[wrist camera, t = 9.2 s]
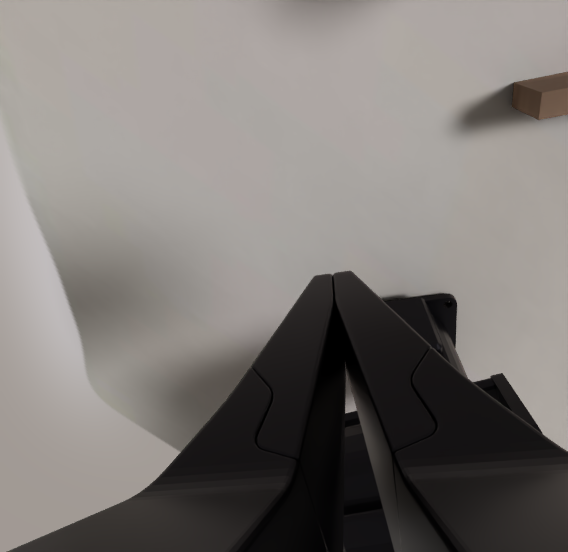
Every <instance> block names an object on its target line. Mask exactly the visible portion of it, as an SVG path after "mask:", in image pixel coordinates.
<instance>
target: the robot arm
mask: <svg viewBox="0 0 568 552" xmlns="http://www.w3.org/2000/svg"><path fill="white" fill-rule="evenodd" d="M447 301H450V302H449V303H447V304H444V303H445V302H447ZM456 316H457V302H456V299H455V297H454V296H453V295H451V294H440V295H432V296H424V297H417V298H409V299H401V300H394V301H386V302H384V301H383V300H382V299H381V298H380V297H378V296H377V295H376V294H375V293H374V292H373V291H372V290H371V289H370V288H369V287H368V286H367V285H366V284H365V283H364V282H362V281H361V280H360V279H359V278H358V277H357V276H356V275H355V274H354V273H353V272H352V271H344V272H338V273H335V274H334V275H332V274H324V275H317V276H314V277H313V279H312V280H311V281H310V283H309V284H308V286H307V287H306V289H305V290H304V291H303V293H302V294H301V296H300V297H299V299H298V300H297V301H296V303H295V304H294V306H293V307H292V309H291V310H290V311H289V313H288V314H287V316H286V317H285V319H284V320H283V321H282V323H281V324H280V326H279V327H278V329H277V330H276V331H275V333H274V334H273V336H272V337H271V339H270V340H269V341H268V343H267V344H266V346H265V347H264V348H263V350H262V351H261V353H260V354H259V356H258V357H257V358H256V360H255V361H254V363H253V364H252V366H251V368H250V369H249V370H248V371H247V373H246V374H245V375H244V377H243V378H242V380H241V381H240V382H239V384H238V385H237V386H236V388H235V389H234V390H233V392H232V393H231V394H230V396H229V397H228V398H227V400H226V401H225V402H224V403H223V404H222V406H221V407H220V408H219V409H218V410H217V412H216V413H215V414H214V415H213V416H212V417H211V419H210V420H209V421H208V422H207V423H206V424H205V426H204V427H203V428H202V429H201V430H200V431H199V432H198V433H197V435H196V436H195V437H194V438H193V439H192V440H191V441H190V442H189V444H188V445H187V446H186V447H185V448H184V449H183V450H182V452H181V453H180V454H179V455H178V456H177V457H176V458H175V459H174V461H173V462H172V463H171V464H170V465H169V466H168V467H167V468H166V470H165V471H164V472H163V473H162V474H161V475H160V476H159V477H158V478H157V479H156V480H155V481H154V482H152V483H151V484H150V485H149V486H148V487H147V488H145V489H144V490H143V491H141V492H140V493H138V494H137V495H135V496H133V497H132V498H130V499H128V500H126V501H124V502H121V503H119V504H117V505H114V506H112V507H110V508H107V509H105V510H103V511H100V512H98V513H96V514H94V515H91V516H89V517H87V518H84V519H82V520H80V521H77V522H75V523H72V524H70V525H68V526H65V527H63V528H61V529H59V530H56V531H54V532H52V533H49V534H47V535H45V536H42V537H40V538H38V539H35V540H33V541H31V542H28V543H26V544H24V545H21V546H19V547H17V548H14V549H12V550H10V551H7V552H568V451H566V450H564V449H563V448H561V447H560V446H558V445H557V444H556V443H554V442H553V441H551V440H550V439H548V438H547V437H546V436H544V435H543V433H542V432H541V430H540V428H539V427H538V425H537V424H536V422H535V421H534V419H533V418H532V416H531V415H530V413H529V412H528V410H527V409H526V407H525V406H524V404H523V403H522V401H521V400H520V398H519V397H518V395H517V394H516V393H515V391H514V390H513V388H512V387H511V385H510V384H509V382H508V381H507V379H506V378H505V376H504V375H503V373H500V374H496V375H492V376H491V378H489V379H485V380H481V381H477V382H472V381H470V380H469V379H468V377H467V375H466V373H465V371H464V368H463V366H462V364H461V361H460V359H459V357H458V354H457V352H456V350H455V346H456ZM345 364H346V369H347V373H348V378H349V382H350V385H351V389H352V393H353V397H354V400H355V404H356V408H357V411H354V412H350V413H346V414H345V383H346V374H345Z"/></svg>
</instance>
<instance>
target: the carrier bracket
mask: <svg viewBox="0 0 568 552" xmlns="http://www.w3.org/2000/svg"><path fill="white" fill-rule="evenodd" d="M512 107H513V108H515V109H517V110H519V111H521V112H523V113H525V114H527V115H530V116H532V117H534V118H536V119H538V120H540V119H546V118H551V117H557V116H562V115H567V114H568V72H564V73H559V74H554V75H549V76H544V77H539V78H534V79H529V80H524V81H519V82H514V88H513V99H512Z"/></svg>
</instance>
